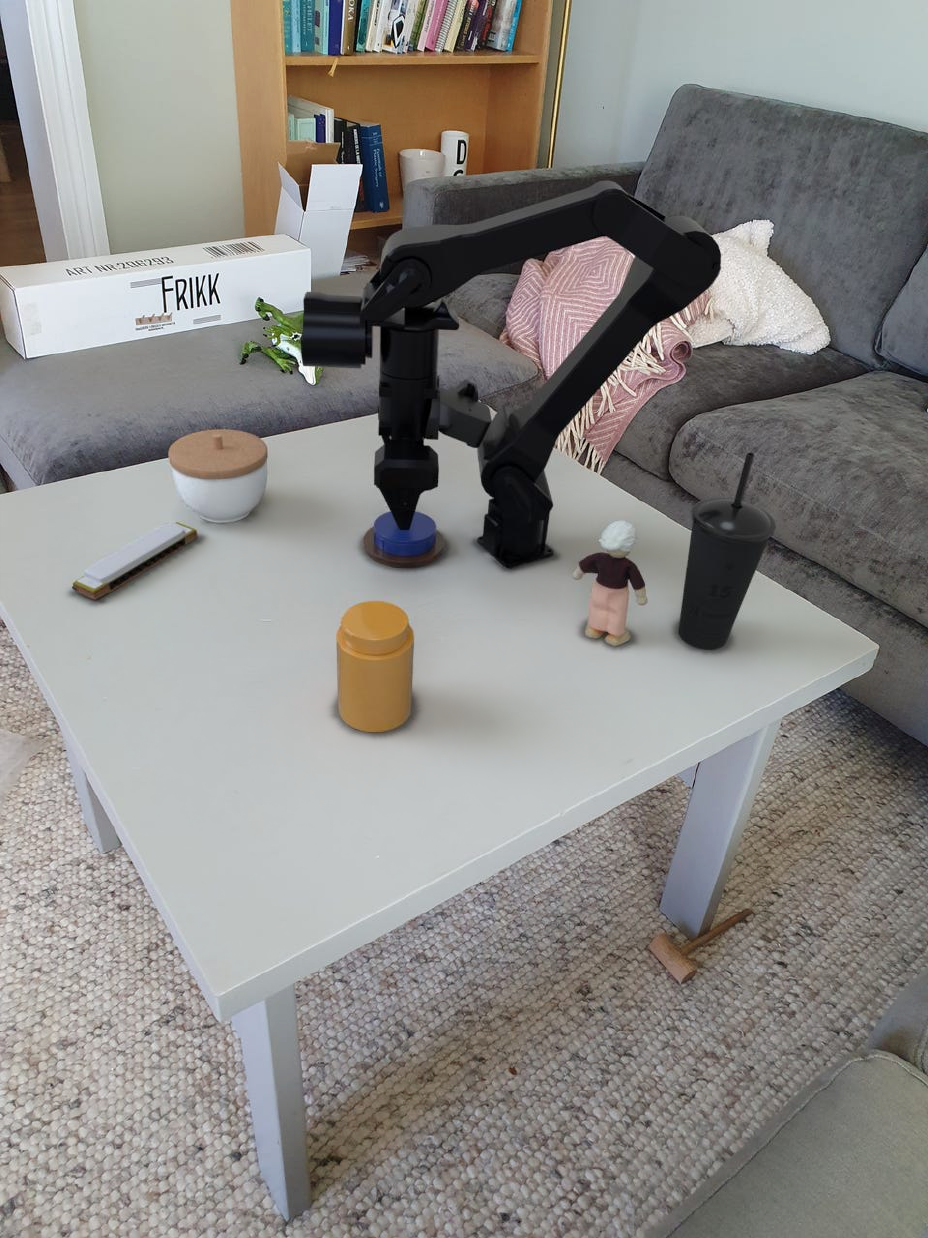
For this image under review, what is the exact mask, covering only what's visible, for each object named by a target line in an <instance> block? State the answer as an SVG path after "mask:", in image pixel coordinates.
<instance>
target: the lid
mask: <svg viewBox="0 0 928 1238" xmlns="http://www.w3.org/2000/svg"><path fill="white" fill-rule="evenodd" d="M373 526H374V543H375V544H376V546H377V547H378V548H379V549H381V550H382V551H384V552H386V553H389V554H392V555H397V556H415V555H420V554H423V553H425V552H427V551H429V550H430V549H432V548H433V546H434V545H435V544H436V530H437V524H436V522H435V520H434V519H433V518H432V517H430V516H429V515H427V514H425V513H422V512H421V511H416V510H415V513H414V517H413V520H412V523H411V527H410V529H409V530H400V529H399V528H398V526H397V524H396V522H395V520H394V518H393V515H392V513H391V511H387V512H384V513H381V514H380V515H379V516H378V517H377V518H376V519H375V520H374V522H373Z"/></svg>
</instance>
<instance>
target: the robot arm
mask: <svg viewBox="0 0 928 1238" xmlns="http://www.w3.org/2000/svg"><path fill="white" fill-rule="evenodd" d="M602 237H604V238H605V237H606V238H608V239H610V240H611V241H613V242H615V243H616V244H618V245H619V246H621V247H622V248H623V249H624V250H626V251H628V252H629V253H630V254H632V255H633V256H634V257H633V259H632V262H631V264H630V267H629V269H628V272H627V274H626V276H625V279H624V281H623V284H622V286H621V289H620V291H619V293H618V294H617V295H616V297H615V298H614V299H613V300H612V302H611V303H610V304H609V306H608V307H607V308H606V309H605V310H604V311H603V313H602V314H600V316H599V317H598V318H597V320H596V321H595V322H594V324H593V325H592V326H591V327H590V328H589V329H588V331H587V332H586V333H585V334H584V336H583V337H582V338H581V339H580V340H579V342H578V343H577V344H576V345H575V347H574V348H572V350H571V351H570V352H569V354H568V355H567V356H566V357H565V358H564V359H563V361H562V362H561V363H560V365H558V367H557V368H556V369H555V371H554V372H553V373H552V374H551V375H550V376H549V378H548V379H547V380H546V381H545V383H544V384H543V385H542V386H541V387H540V389H539V390H538V391H537V393H536V394H534V396H533V397H532V399H530V401H529V402H528V403H526V404H525V405H523V406H521V407H520V408H518V409H516V410H513V411H511V410H510V409H509V408H508V407H507V406H506V405H505V404H502V405H500V407H499V408H498V409H497V411H496V413H495V415H494V417H493V418H492V415H491V409H490V407H489V406H488V405H487V404H486V400H483V399H482V400H481V401H479V389H478V385H477V384H476V383H475V382H472V381H469V380H467V379H464V380H463V381H461V382H460V383H459V384H458V385H456V386H455V387H454V388H453V387H449V389H446V388H443V387H440V375H439V374H438V364H439V347H440V346H439V344H440V331H458V330H459V329H460V319H459V314H458V312H457V311H456V310H454V309H453V308H452V307H451V306H450V305H449V304H448V302H447V299H446V296H448V295H450V294H453V293H454V292H455V291H457V290H459V289H460V288H461V287H463V286H464V285H466V283H467V284H468V283H469V282H470V281H471V280H472V279H474V278H476V277H478V276H480V275H482V274H484V273H486V272H489V271H493V270H496V269H500V268H503V267H505V266H509V265H512V264H516V263H519V262H523V261H525V260H529V259H533V258H535V257H540V256H542V255H546V254H550V253H552V252H555V251H560V250H561V249H562V250H563V249H565V248H569V247H572V246H575V245H579V244H583V243H585V242H589V241H593V240H595V239H599V238H602ZM721 270H722V252H721V249H720V246H719V243H718V242H717V241H716V240H715V239H714V237H713V236H712V235H711V234H710V233H709V232H708V231H707V230H706V229H704V228H703V226H701V224H699V223H698V222H697V221H696V220H694V219H693V218H691V217H689V216H685V215H673V216H666V215H665V214H664V213H662V212H660V211H658V210H657V209H655V207H652V206H651V205H649V204H647V203H645V202H643V201H642V200H640V199H639V198H637V197H635V196H634V195H631V194H630V193H628V192H627V191H625V190H624V189H623V187H622V186H621V185H619V184H618V183H617V182H615V181H612V180H609V179H608V180H600V181H597V182H595V183H594V184H592V185H590V186H589V187H586V188H583V189H581V190H577V191H574V192H570V193H567V194H564V195H561V196H558V197H554V198H551V199H548V200H545V201H544V200H543V201H542V202H538V203H535V204H532V205H528V206H525V207H522V208H518V209H516V210H512V211H509V212H506V213H503V214H499V215H496V216H493V217H490V218H486V219H483V220H480V221H476V222H473V223H465V224H431V225H422V226H414V227H413V226H412V227H405V228H401V229H400V230H398V231H396V232H394V233H393V234H391V235H390V236H389V237H388V239H387V240H386V242H385V243H384V246H383V248H382V252H381V259H380V266H379V267H378V268H377V270H376V271H375V273H374V274H373V275H372V277H371V278H369V281H368V282H366V283H365V285H364V287H363V289H362V293H361V295H359V296H358V295H339V294H326V293H322V292H320V291H319V292H318V291H306V292H305V293H304V296H303V299H302V301H303V302H302V303H303V304H302V305H303V313H302V314H303V315H302V330H301V331H302V332H301V335H300V355H301V362H302V366H303V367H310V368H311V367H315V368H333V369H334V368H335V369H336V368H338V369H357V370H359V369H362V366H363V365H364V366H365V365H366V362H367V359H373V357H374V355H373V354H374V327H378V328H379V379H378V404H377V420H378V431H377V435H378V436H379V437H381V439H382V442H383V444H382V445H381V446H380V447H379V448H378V449H377V450H375V452H374V463H373V485H374V486H375V487H376V488H377V489H378V490H379V492H380V493H381V496H382V497H383V500H384V501H385V504H386V505H387V507H388V509H389V512H391V513H392V515H393V518H394V520H395V522H396V524H397V526H398V528H399V529H400V530H409V529H410V527H411V523H412V520H413V517H414V513H415V511H416V510H417V507H418V503H419V500H420V497H421V495H422V494H423V493H424V492H428V491H429V492H430V491H432V490H434V489H437V488H438V487H439V478H440V477H439V475H440V474H439V473H440V466H439V454H438V453H437V451H435V449H433V447H431V445H430V444H429V445H427V444H425V440H431V441H432V440H434V441H439V435H440V434H442V435H443V436H445V437H446V436H447V437H449V438H451V439H454V440H457V441H460V442H462V443H464V444H466V446H468V447H470V448H472V449H477V450H476V454H477V455H476V456H477V462H478V469H479V477H480V482H481V483H480V484H481V487H482V488H483V490H484V492H485V493H486V494H487V495H489V497H491V498H489V499H488V505H487V513H485V514H484V517H483V527H482V529H483V530H482V535H481V536H478V537H477V538H476V543H477V544H479V545H480V546H481V547H482V548H483V549H484V550H485V551H486V552H488V554H489V555H491V556H492V557H493V558H494V559H495V560H496V561H497V562H499V563H500V564H501V565H502V566H503V567H504V568H506V569H511V568H515V567H519V566H522V565H525V564H529V563H532V562H536V561H539V560H542V559H546V558H549V557H553V556H554V553H555V551H554V549H553V548H551V547H550V546H549V545H548V544H547V537H548V530H549V521H550V514H551V511H552V509H553V508H554V502H553V498H552V494H551V491H550V487H549V482H548V478H547V475H546V472H545V471H546V470H545V469H546V468H547V465H548V463H549V460H550V457H551V456H552V455H551V454H552V452H553V450H554V448H555V445H556V443H557V441H558V438H559V436H560V435H561V434H562V432H563V431H564V430H565V429H566V428H567V427H568V425H569V424H570V423H571V422H572V421H573V420H574V418H576V417H577V415H578V414H579V413H580V412H581V410H582V409H583V408H584V407H585V406H587V404H588V403H589V401H590V400H591V399H592V398H593V396H594V395H595V394H596V393H597V392H598V391H599V390H600V389H601V387H602V386H603V385H604V384H605V382H606V381H607V380H608V379H609V378H610V377H611V376H612V375H613V373H614V372H615V371H616V370H617V369H618V368H619V367H620V365H621V364H622V363H623V362H624V361H625V360H626V358H627V357H628V356H629V355H630V354H631V353H632V352H633V351H634V349H635V348H636V347H637V346H638V345H639V343H640V342H641V341H642V340H643V339H644V338H645V337H646V335H647V334H648V333H649V332H650V331H651V329H653V328H654V327H655V326H657V325H658V324H660V323H661V322H663V321H665V320H667V319H668V318H671V317H673V316H674V315H676V314H679V313H680V312H682V311H683V310H685V309H686V308H687V307H688V306H690V305H691V304H692V303H694V302H695V300H697V299H698V298H699V297H700V296H701V295H703V293H705V292H706V291H707V290H708V289H710V288H711V287H712V286H713V284H714V283H715V281H716V280H717V279H718V277H719V275H720V273H721ZM439 433H440V434H439Z"/></svg>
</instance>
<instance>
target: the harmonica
mask: <svg viewBox="0 0 928 1238" xmlns="http://www.w3.org/2000/svg"><path fill="white" fill-rule="evenodd" d="M197 538H198V532H197V529H196V528H193V527H191V526H188V525H186V524H183V523H181V522H174V523H169V522H167V523H164V524H162V525H161V524H160V526H159V525H158V527H156V528H154V529H152V530H150V531H148V532H147V533H145V534H143V535H142V536H140V537H138V538H137V539H135V540H133V541H131V542H130V543H128V544H126V545H124V546H123V547H121V548H119V549H118V550H116V551H114V552H112V553H111V554H108V555H107V556H105V557H103V558H102V559H99V560H98V561H97V562H95V563H94V564H91V565H90V566H89V567H87V568H86V569H85V570H84V575H83V576H81V577H79V578H78V579H76V580H74V582H72V586H71V588H72V590H73V591H74V592H76V593H78V594H80V595H82V596H85V597H87V598H89V599H91V600H95V601H96V600H97V599H100V598H101V597H103V596H105V595H106V594H110V593H113V592H115V591H116V590H117V589H120V588H121V587H122V586H124V585H126V584H127V583H129V582H131V581H133V579H136V578H137V577H138V576H139V577H140V575H143V573H145V572H147V571H148V570H150V569H151V568H153V567H155V566H156V565H158V564H160V563H161V562H163V561H164V560H167V558H169V557H171V556H172V555H174V554H176V553H178V552H179V551H181V550H182V549H184V548H185V547H186V545H188V544H189V543H191V542H193V541H194V540H196V539H197Z"/></svg>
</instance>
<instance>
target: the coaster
mask: <svg viewBox="0 0 928 1238" xmlns="http://www.w3.org/2000/svg"><path fill="white" fill-rule="evenodd" d="M362 540H363V541H362V543H363V551H364V552H365V554H366V555H367V556H368V557H369V558H370V559H372V560H373V561H374V562H376V563H379V564H380V565H384V566H386V567H387V566H388V567H392V568H398V569H399V568H400V569H411V568H419V567H424V566H426V565H429V564H432V563H433V562H435V561H437V560H438V559H439V558H440V557H441V556H442V555H443V553H444V550H445V539H444V537H443V535H442V534H441V532H440V531H439V530H437V529H436V544H435V545H434V546H433V548H432V549H430V550H429V551H427V552H425V553H423V554H420V555H415V556H397V555H392V554H389V553H386V552H384V551H382V550H381V549H379V548H378V547H377V546H376V544H375V543H374V525H373V526H372V527H370V528H369V529H368V530H367V531H366V532H365V533H364V535H363V539H362Z"/></svg>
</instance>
